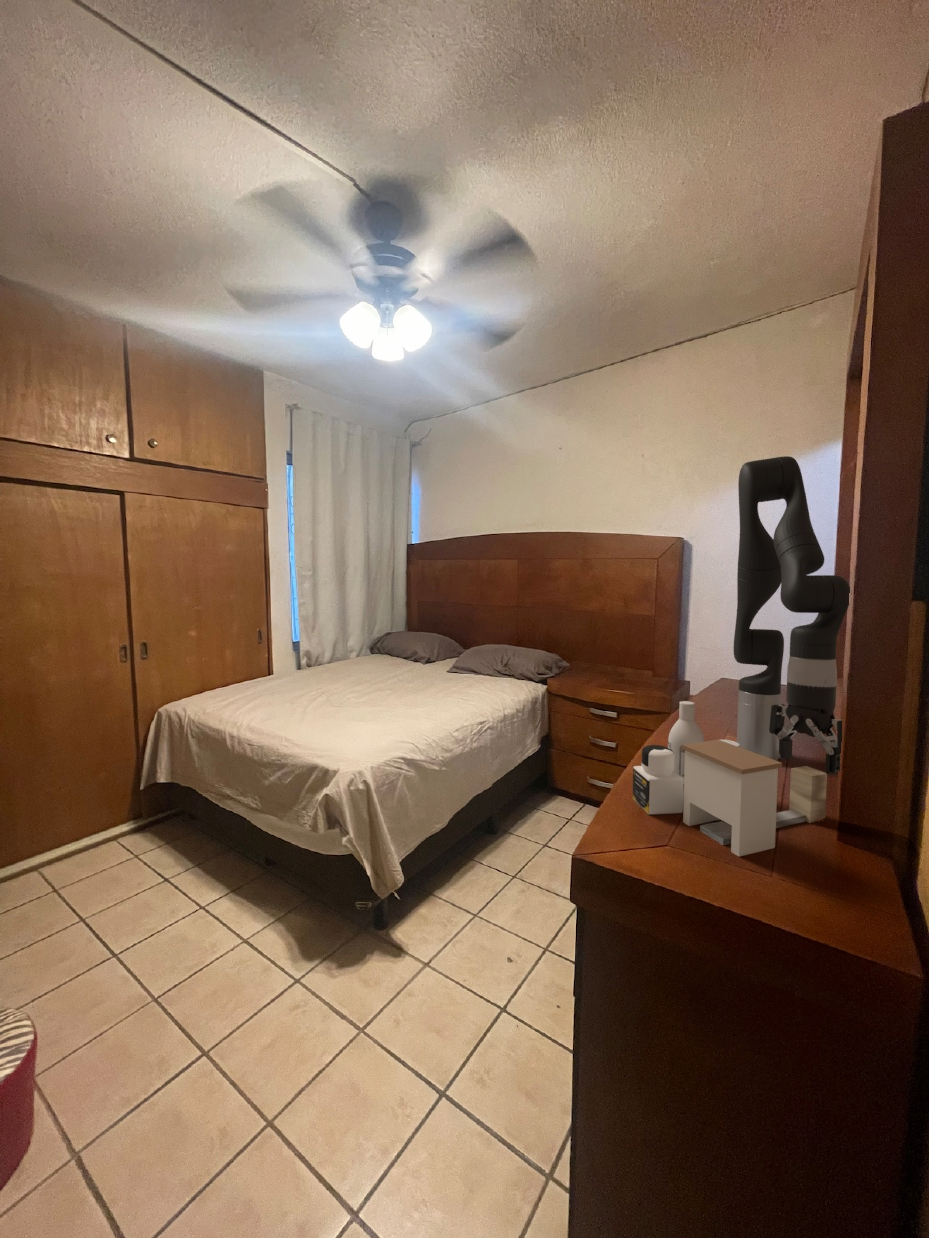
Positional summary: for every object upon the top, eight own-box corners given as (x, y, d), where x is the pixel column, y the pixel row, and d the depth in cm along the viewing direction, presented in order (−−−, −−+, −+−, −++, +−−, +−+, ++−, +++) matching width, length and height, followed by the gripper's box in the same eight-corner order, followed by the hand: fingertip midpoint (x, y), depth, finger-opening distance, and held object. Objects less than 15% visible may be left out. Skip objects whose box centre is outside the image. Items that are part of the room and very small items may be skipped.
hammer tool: (803, 810, 92) (805, 765, 92) (824, 819, 89) (827, 773, 88) (742, 823, 87) (743, 776, 87) (761, 834, 84) (763, 785, 83)
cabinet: (716, 814, 91) (718, 739, 90) (778, 848, 79) (782, 762, 78) (679, 821, 88) (681, 744, 87) (739, 858, 76) (742, 769, 75)
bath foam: (710, 798, 98) (713, 704, 96) (687, 805, 95) (690, 708, 93) (682, 786, 104) (684, 697, 103) (659, 792, 101) (661, 700, 100)
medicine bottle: (631, 798, 98) (633, 742, 97) (664, 797, 98) (666, 741, 98) (648, 815, 91) (649, 754, 90) (683, 813, 91) (684, 753, 91)
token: (721, 829, 86) (721, 821, 86) (745, 842, 82) (745, 834, 82) (699, 833, 85) (700, 825, 85) (722, 847, 80) (723, 839, 80)
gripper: (867, 687, 83) (862, 777, 83) (789, 674, 96) (786, 751, 97) (837, 689, 80) (833, 782, 81) (761, 676, 94) (758, 755, 95)
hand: (807, 765), depth 89 cm, fingers open, 8 cm apart
